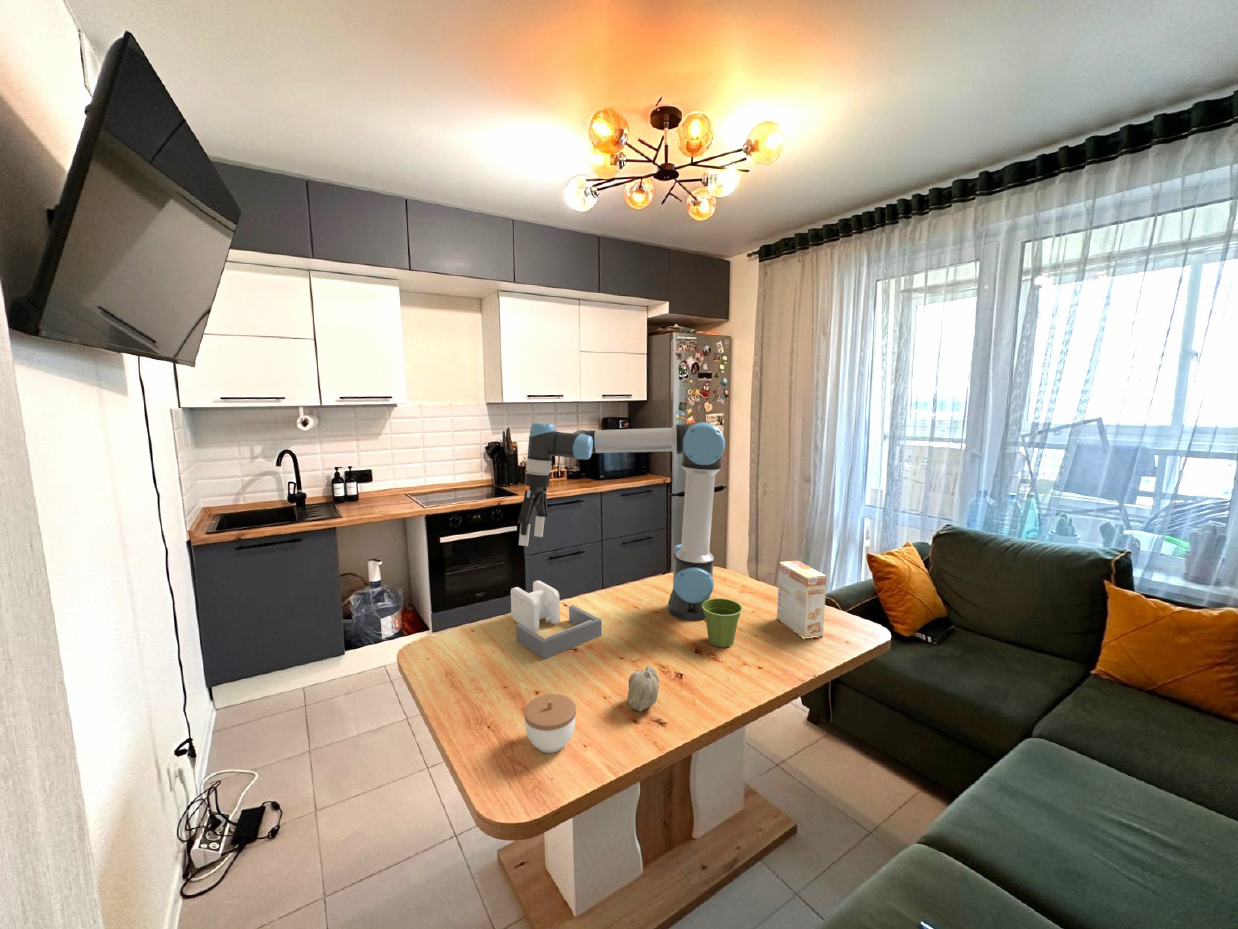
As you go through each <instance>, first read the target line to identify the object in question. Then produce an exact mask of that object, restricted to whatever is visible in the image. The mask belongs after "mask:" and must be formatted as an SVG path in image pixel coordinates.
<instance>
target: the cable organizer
mask: <svg viewBox="0 0 1238 929" xmlns="http://www.w3.org/2000/svg"><path fill="white" fill-rule="evenodd" d="M560 607H561V606H560V592H559V591H558V590H557V589H556V588H554V587H552V586H551V585H548V584H547V583H545V582H544V581H541V580H540V579H539V580H535V581H533V583H532V591H531V592H527V591H525V590H523V588H521V587H519V586H516V587H513V588H512V587H511V589H510V610H511V611H510V613H511V617H512V619H513V621H515V622H516V623H517V624H520V623H521V624H522V625H524V626H525V627H527V628H529V629H530V630H532V631H533V632H535V633H536V632H539V631H540V626H541V625H540V620H542V619H545V622H546V623H548V622H549V623H550V624H552V625H555V624H557V623H559V622H560V621H561V615H560V614H561V613H560V612H561V608H560Z"/></svg>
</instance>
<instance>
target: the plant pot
mask: <svg viewBox="0 0 1238 929" xmlns="http://www.w3.org/2000/svg"><path fill="white" fill-rule="evenodd" d="M702 608H703V610H704V614H705V617H706V619H705V622H706V630H707V636H708V642H709V644H711V645H712V646H714V645H715V646H714V647H720V648H728V647H727V646H729V647H731V646H733V644H734V643H735V642H734V641H735V636H736V632H737V627H738V622H739V619H740V616H741V613H742V612H743V609H744V607H743V605H742V604H740V603H739V602H737V601H735V600H733V599H729V598H724V597H712V598H710V599H708V600H705V601H704V602H703V603H702ZM730 645H731V646H730Z"/></svg>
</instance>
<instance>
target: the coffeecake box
mask: <svg viewBox="0 0 1238 929" xmlns="http://www.w3.org/2000/svg"><path fill="white" fill-rule="evenodd" d="M778 564H779V565H778V567H779V568H778V583H777V584H778V586H777V587H778V588H777V605H776V606H777V608H776V620H778V619H779V620H780V622H781V624H783V623H784V624H786V625H787V626H788V627H789V628H788V627H787V626H786V625H785V626H786V627H787V628H788V629H790V628H791V629H792V630H793V631H792V630H791V629H790V630H791V631H792V632H794V633H795V632H797V633H798V634H799V635H800V636H803V637H804V638H805V637H811V636H823V637H824V625H825V624H824V623H825V608H826V605H825V604H826V594H827V593H826V589H827V574H824V573H823V572H821V571H818V570H816V569H815V568H812V567H810V566H809V565H806V564H805V563H803V562H801V561H799V560H788V561H787V560H786V561H780V562H779V563H778ZM779 620H778V621H779ZM784 624H783V625H784ZM799 635H798V636H799ZM800 636H799V637H800Z"/></svg>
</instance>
